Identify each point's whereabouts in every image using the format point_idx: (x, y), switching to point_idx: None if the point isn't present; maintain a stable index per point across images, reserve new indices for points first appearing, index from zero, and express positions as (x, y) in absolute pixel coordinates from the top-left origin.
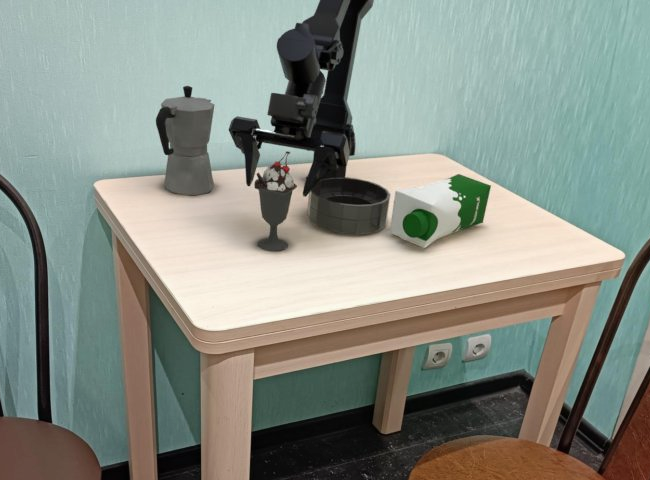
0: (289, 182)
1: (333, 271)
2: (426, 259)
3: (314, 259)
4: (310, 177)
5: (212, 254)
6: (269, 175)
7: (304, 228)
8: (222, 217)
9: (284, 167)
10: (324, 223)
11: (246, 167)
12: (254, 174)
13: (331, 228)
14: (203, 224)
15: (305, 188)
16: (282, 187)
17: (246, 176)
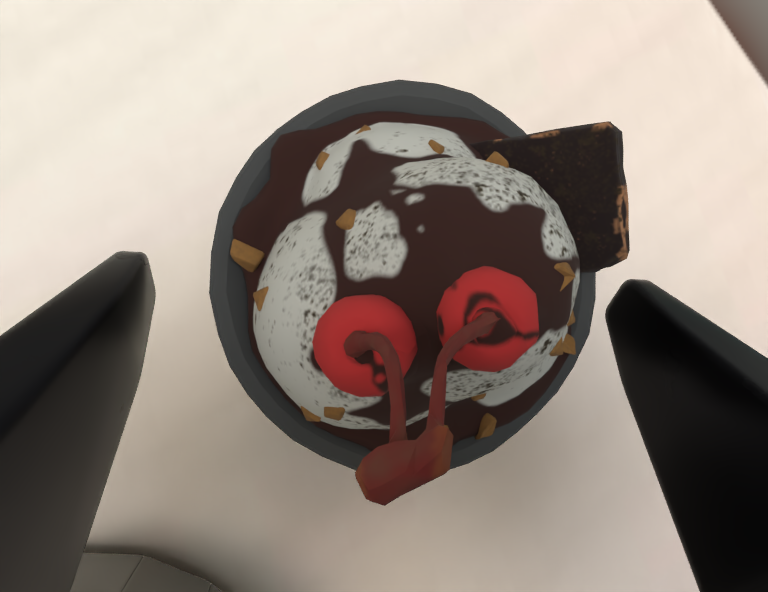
0: (279, 249)
1: (13, 123)
2: None
3: (133, 218)
4: (17, 349)
5: (538, 112)
6: (495, 160)
7: (267, 543)
8: (622, 480)
9: (378, 310)
10: (154, 575)
11: (760, 358)
12: (647, 442)
13: (114, 559)
14: None
15: (108, 274)
16: (325, 164)
17: (686, 305)
